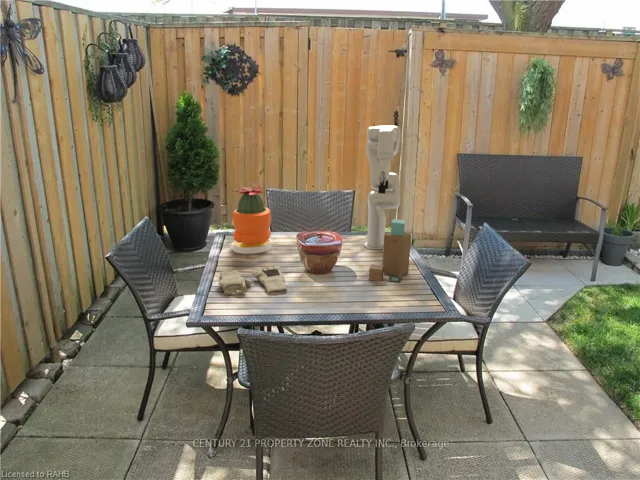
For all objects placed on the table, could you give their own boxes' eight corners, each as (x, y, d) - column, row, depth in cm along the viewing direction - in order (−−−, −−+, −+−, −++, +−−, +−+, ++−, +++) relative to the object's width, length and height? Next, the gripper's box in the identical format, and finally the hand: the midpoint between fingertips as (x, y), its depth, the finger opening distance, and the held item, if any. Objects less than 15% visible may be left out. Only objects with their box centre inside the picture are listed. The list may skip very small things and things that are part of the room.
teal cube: (392, 231, 261) (392, 219, 259) (404, 232, 260) (405, 220, 258) (390, 234, 255) (391, 222, 254) (403, 235, 254) (404, 223, 252)
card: (389, 277, 258) (389, 276, 258) (401, 278, 256) (402, 277, 256) (387, 281, 252) (387, 280, 252) (400, 283, 251) (400, 282, 251)
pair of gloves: (281, 272, 262) (281, 262, 260) (287, 294, 238) (287, 283, 237) (218, 275, 257) (218, 265, 255) (218, 298, 233) (218, 286, 231)
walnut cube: (370, 275, 260) (371, 263, 258) (383, 276, 258) (383, 265, 257) (368, 279, 254) (369, 268, 252) (381, 281, 253) (382, 269, 251)
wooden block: (399, 277, 257) (401, 238, 251) (381, 272, 263) (383, 233, 257) (409, 271, 265) (412, 233, 258) (391, 267, 270) (393, 229, 264)
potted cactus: (228, 245, 297) (225, 183, 286) (266, 241, 306) (265, 180, 295) (239, 258, 279) (237, 192, 268) (280, 253, 288) (279, 188, 277)
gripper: (379, 152, 265) (378, 186, 270) (374, 158, 249) (372, 194, 254) (395, 153, 263) (393, 187, 268) (390, 159, 247) (388, 195, 252)
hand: (383, 191), depth 261 cm, fingers open, 9 cm apart
